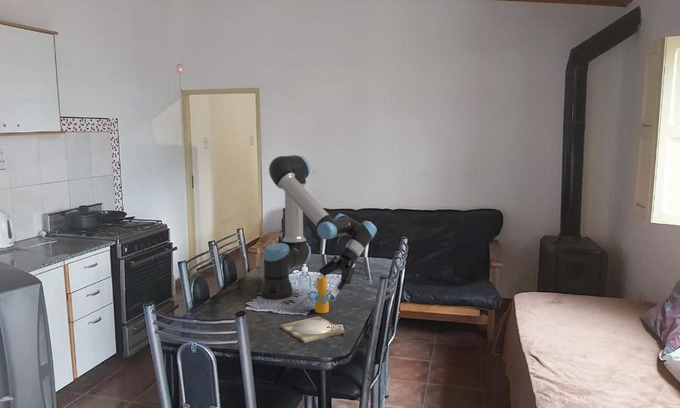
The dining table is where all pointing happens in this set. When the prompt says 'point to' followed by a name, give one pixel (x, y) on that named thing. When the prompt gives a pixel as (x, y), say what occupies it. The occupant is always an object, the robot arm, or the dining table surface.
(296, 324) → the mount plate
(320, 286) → the orange post with rings
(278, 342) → the dining table surface
